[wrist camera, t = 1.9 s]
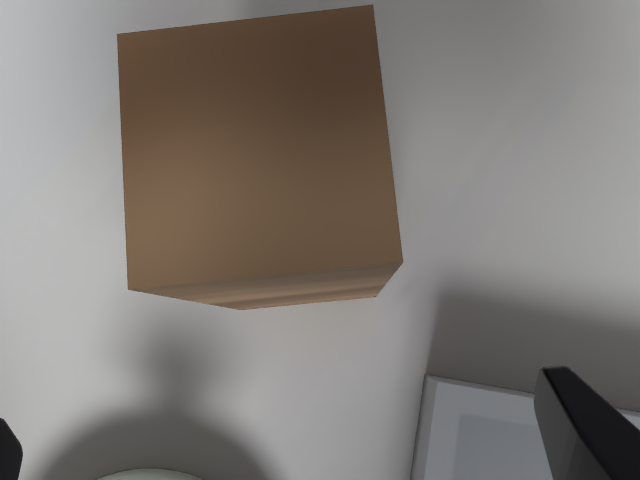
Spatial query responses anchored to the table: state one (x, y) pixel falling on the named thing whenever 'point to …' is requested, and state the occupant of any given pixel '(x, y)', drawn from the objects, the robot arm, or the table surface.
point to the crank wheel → (149, 475)
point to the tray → (480, 433)
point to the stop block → (258, 161)
